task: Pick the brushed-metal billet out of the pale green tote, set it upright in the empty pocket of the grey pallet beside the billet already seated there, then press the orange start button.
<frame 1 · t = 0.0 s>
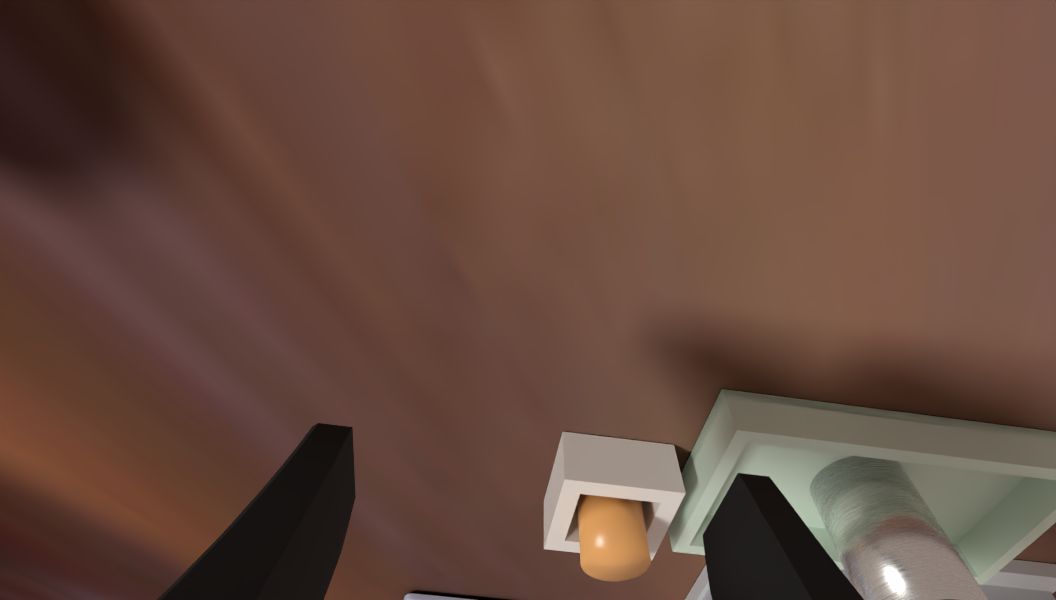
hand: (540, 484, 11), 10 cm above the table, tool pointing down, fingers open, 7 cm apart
button cap: (611, 528, 24), point 3 cm above the table, slide at 0.0 cm
pallet: (851, 596, 32), on the table
tote: (851, 473, 26), on the table
billet b: (856, 483, 25), resting on tote
button housing: (605, 474, 26), on the table
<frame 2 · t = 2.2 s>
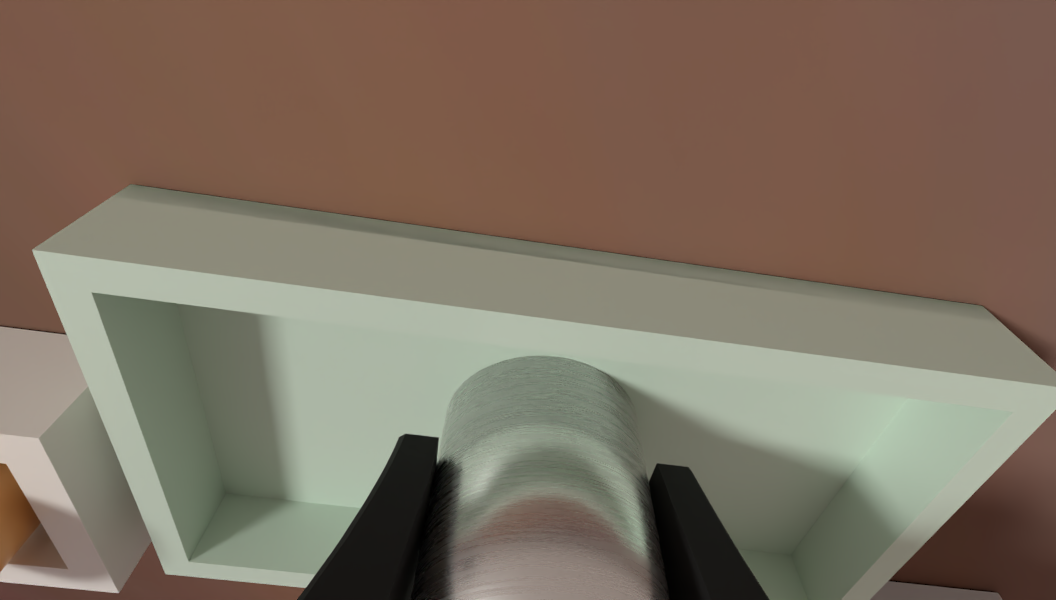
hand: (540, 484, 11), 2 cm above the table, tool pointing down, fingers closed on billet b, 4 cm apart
tote: (540, 410, 12), on the table
billet b: (540, 428, 12), resting on tote, touching gripper
button housing: (43, 413, 13), on the table
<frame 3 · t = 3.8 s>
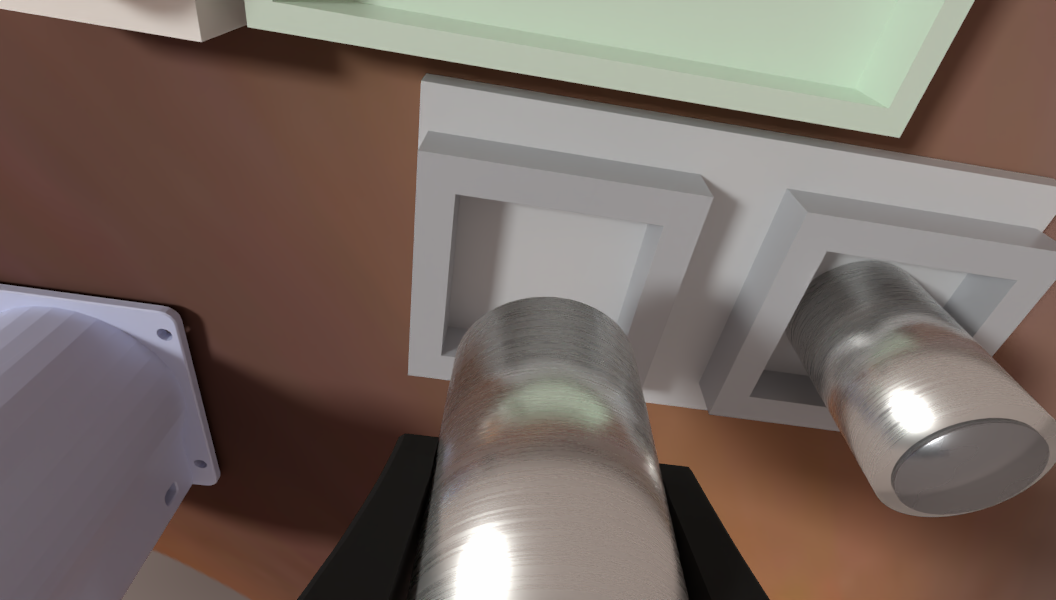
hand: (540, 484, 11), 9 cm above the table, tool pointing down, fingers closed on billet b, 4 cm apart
pallet: (693, 278, 18), on the table
billet a: (849, 313, 18), point 1 cm above the table, touching pallet
billet b: (544, 372, 12), point 6 cm above the table, touching gripper
when the fingers open (3 cm above the table, at t = 5.4 s): billet b stays where it is, resting on pallet.
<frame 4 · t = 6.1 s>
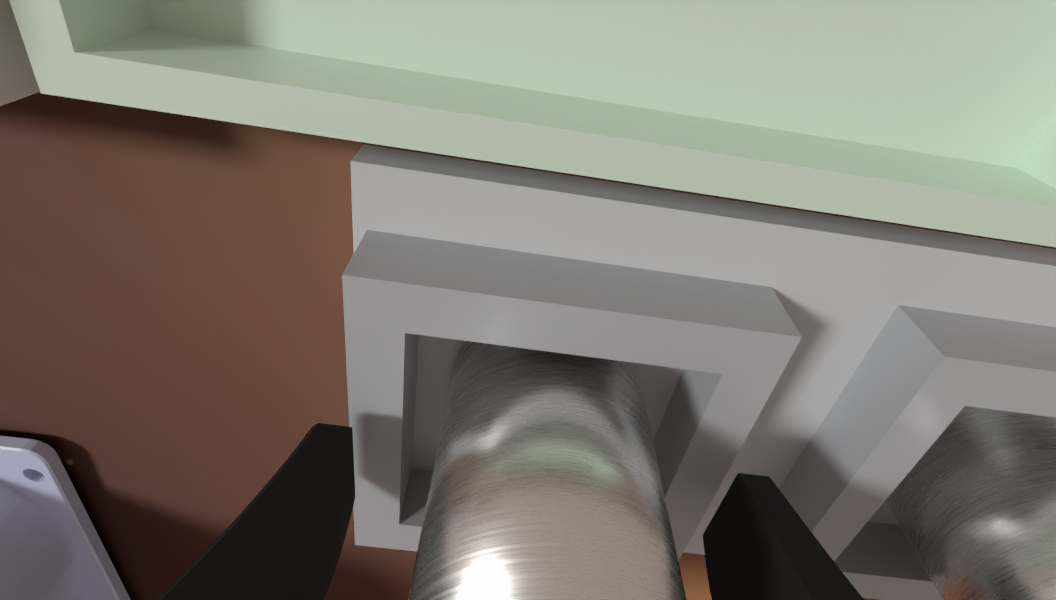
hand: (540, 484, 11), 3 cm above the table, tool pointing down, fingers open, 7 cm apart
pallet: (748, 405, 13), on the table
billet a: (966, 456, 13), point 1 cm above the table, touching pallet
billet b: (545, 385, 12), point 1 cm above the table, touching pallet
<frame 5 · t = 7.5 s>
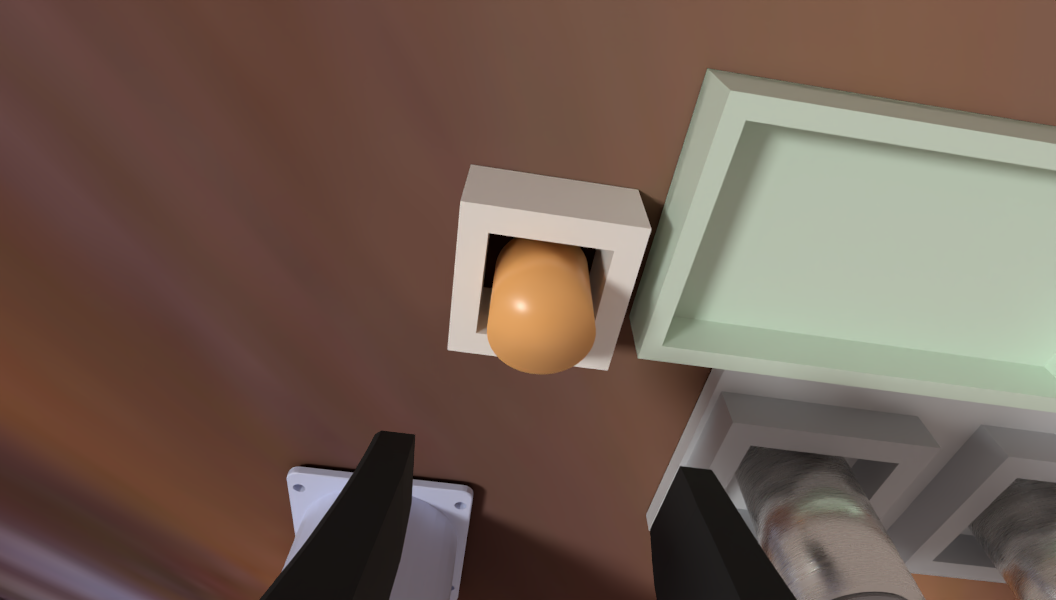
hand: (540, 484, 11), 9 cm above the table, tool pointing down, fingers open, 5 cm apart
button cap: (541, 300, 16), point 3 cm above the table, slide at 0.0 cm
pallet: (886, 467, 24), on the table
billet a: (1010, 497, 23), point 1 cm above the table, touching pallet
tote: (899, 244, 18), on the table
billet b: (785, 461, 22), point 1 cm above the table, touching pallet
button housing: (541, 250, 18), on the table
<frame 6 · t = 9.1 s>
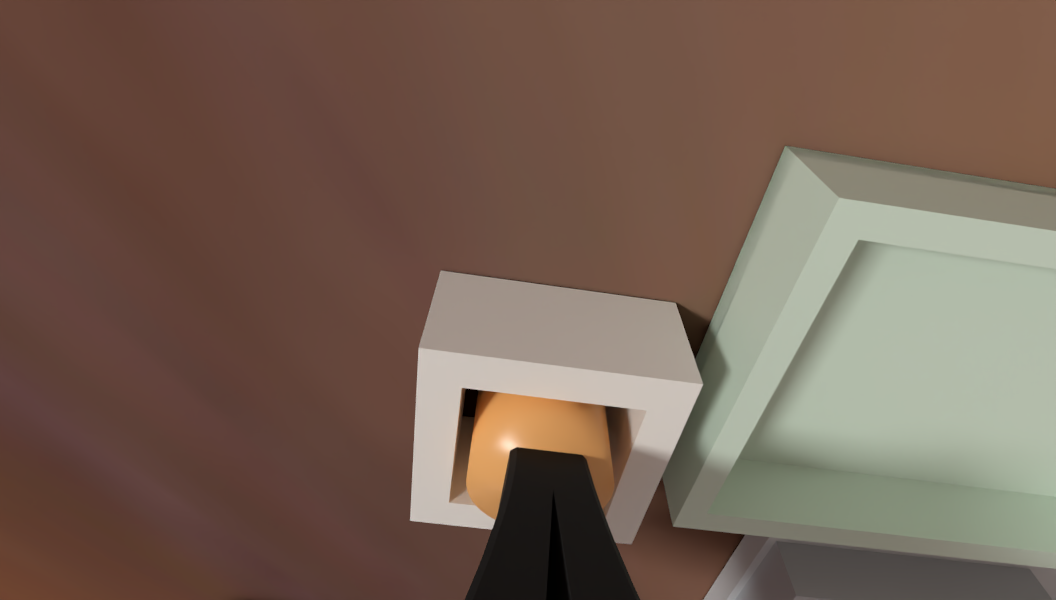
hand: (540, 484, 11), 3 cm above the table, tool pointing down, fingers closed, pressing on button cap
button cap: (540, 426, 12), point 2 cm above the table, slide at 1.2 cm, touching gripper
tote: (1031, 370, 13), on the table
button housing: (540, 374, 13), on the table
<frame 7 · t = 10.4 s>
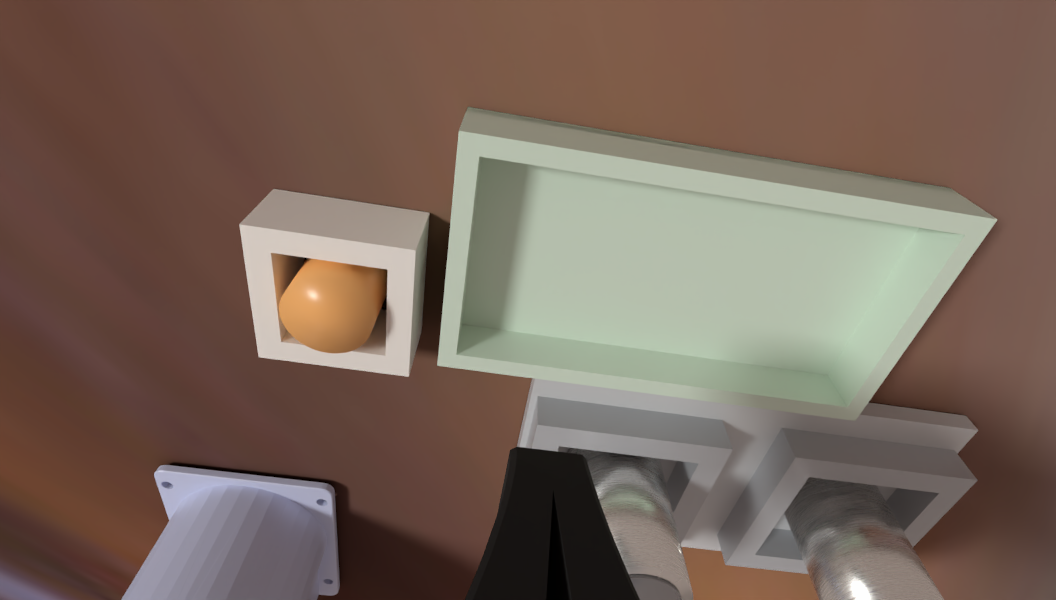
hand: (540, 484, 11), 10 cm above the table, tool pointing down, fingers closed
button cap: (340, 290, 18), point 2 cm above the table, slide at 1.2 cm
pallet: (714, 467, 25), on the table
billet a: (826, 495, 25), point 1 cm above the table, touching pallet
tote: (675, 263, 19), on the table
billet b: (611, 462, 24), point 1 cm above the table, touching pallet
button housing: (353, 266, 20), on the table
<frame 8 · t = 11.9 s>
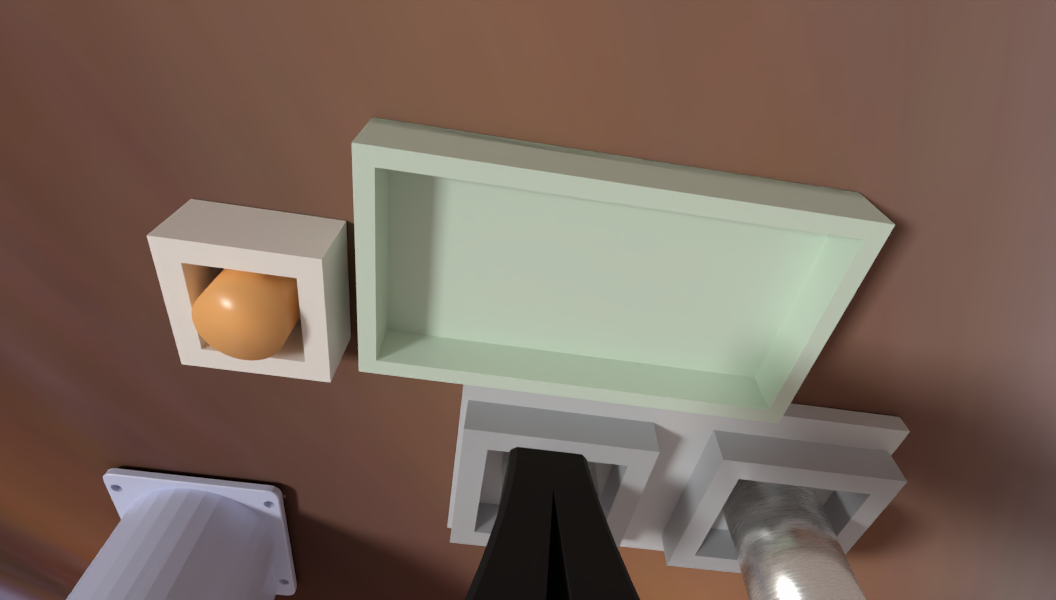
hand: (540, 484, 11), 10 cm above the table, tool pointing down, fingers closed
button cap: (259, 298, 19), point 2 cm above the table, slide at 1.2 cm
pallet: (654, 469, 25), on the table
billet a: (766, 496, 25), point 1 cm above the table, touching pallet
tote: (594, 268, 19), on the table
billet b: (548, 464, 24), point 1 cm above the table, touching pallet
button housing: (277, 273, 20), on the table
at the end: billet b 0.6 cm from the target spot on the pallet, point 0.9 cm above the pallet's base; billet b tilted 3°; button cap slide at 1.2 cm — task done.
